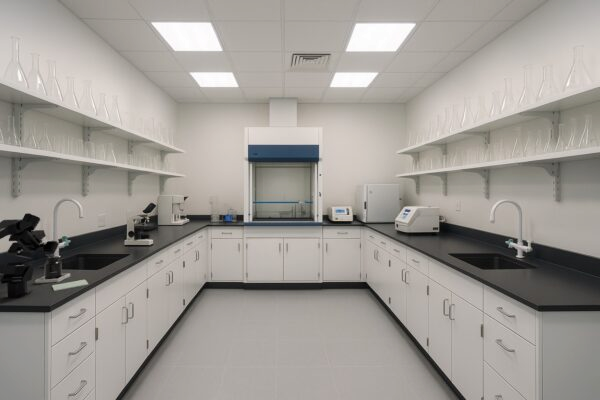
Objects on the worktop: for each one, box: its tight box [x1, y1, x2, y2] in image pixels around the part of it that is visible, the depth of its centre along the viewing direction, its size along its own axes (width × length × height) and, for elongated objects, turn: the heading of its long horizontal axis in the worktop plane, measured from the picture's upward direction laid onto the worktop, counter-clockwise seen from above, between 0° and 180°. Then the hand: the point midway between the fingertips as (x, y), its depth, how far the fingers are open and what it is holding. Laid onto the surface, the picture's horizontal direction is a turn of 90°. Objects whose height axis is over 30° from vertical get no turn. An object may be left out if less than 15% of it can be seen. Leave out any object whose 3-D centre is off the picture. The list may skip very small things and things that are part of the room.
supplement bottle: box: [44, 255, 63, 279], centre depth 152 cm, size 7×7×12 cm
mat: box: [51, 279, 89, 292], centre depth 142 cm, size 13×10×1 cm
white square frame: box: [35, 273, 71, 284], centre depth 152 cm, size 10×10×2 cm
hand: (42, 257), depth 144 cm, fingers open, 9 cm apart
